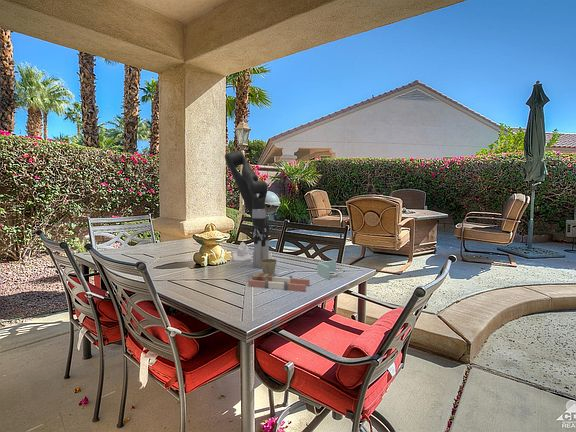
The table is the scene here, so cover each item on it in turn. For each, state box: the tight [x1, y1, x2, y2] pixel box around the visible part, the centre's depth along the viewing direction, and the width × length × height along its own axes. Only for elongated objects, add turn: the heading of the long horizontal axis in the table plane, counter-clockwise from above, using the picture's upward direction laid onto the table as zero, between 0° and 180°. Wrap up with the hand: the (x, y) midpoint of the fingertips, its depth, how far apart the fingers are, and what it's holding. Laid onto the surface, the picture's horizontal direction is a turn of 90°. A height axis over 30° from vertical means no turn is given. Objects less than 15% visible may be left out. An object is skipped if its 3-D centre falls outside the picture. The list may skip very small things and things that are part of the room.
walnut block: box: [251, 272, 269, 281], centre depth 161 cm, size 7×6×5 cm
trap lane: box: [247, 273, 311, 292], centre depth 158 cm, size 30×11×4 cm, turn 74°
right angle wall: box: [316, 259, 338, 280], centre depth 176 cm, size 12×12×8 cm
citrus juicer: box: [232, 241, 252, 264], centre depth 211 cm, size 12×15×14 cm
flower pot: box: [261, 258, 278, 276], centre depth 176 cm, size 9×9×9 cm
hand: (259, 245), depth 174 cm, fingers open, 8 cm apart
